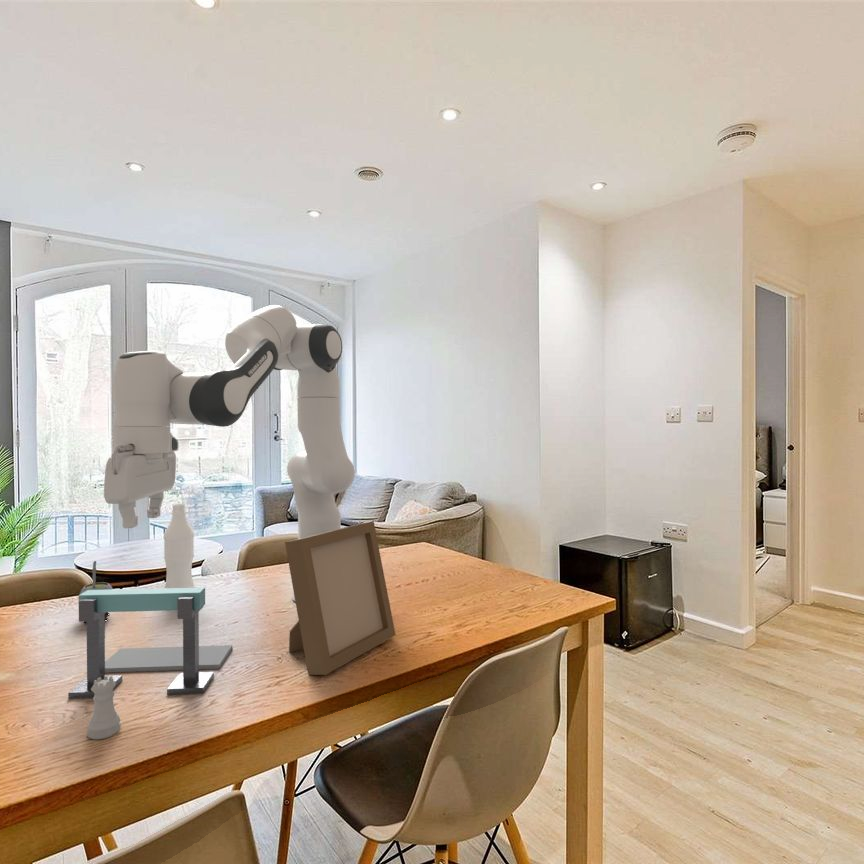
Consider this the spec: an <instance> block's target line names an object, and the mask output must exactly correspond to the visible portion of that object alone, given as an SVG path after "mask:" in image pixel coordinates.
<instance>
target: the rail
mask: <svg viewBox="0 0 864 864" xmlns="http://www.w3.org/2000/svg"><path fill="white" fill-rule="evenodd" d="M179 597H194V610H200V609H201V608H202V607H203V608H204V606H205V605H206V587H194V588H165V587H164V588H159V587H158V588H122V589H121V588H119V589H117V588H116V589H114V588H113V589H110V590H87V591H85V592H84V593H82V594H80V593H79V595H78V602H79V601H80V600H81V599H97V612H108V613H118V612H119V613H121V612H122V613H126V612H166V611H177V599H178V598H179ZM203 608H202V609H203ZM202 609H201V610H202ZM201 610H200V611H201Z"/></svg>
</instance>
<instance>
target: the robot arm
mask: <svg viewBox="0 0 864 864" xmlns="http://www.w3.org/2000/svg"><path fill="white" fill-rule="evenodd" d="M224 340H225V341H224V342H225V343H224V344H225V345H224V346H225V351H226V353H227V355H228V357H229V359H230V360H231V362H232V363H233V365H232V366H231V367H230V368H229V369H226V370H215V371H209V372H208V371H207V372H205V371H204V372H186V371H184V370H182V369H181V368H179V367H177V366H176V365H174V364H173V363H172V362H171V361H170V360H169V359H168V357H167V354H166V352H164V351H161V350H146V351H145V350H142V351H140V350H139V351H129V352H124V353H122V354H121V355H119V356H118V358H117V359H116V362H115V366H114V371H113V380H112V381H113V384H112V403H113V406H114V408H115V417H114V419H113V424H112V426H113V427H112V447H113V451H112V452H113V453H111V456H110V457H109V458H107V461H106V464H105V470H104V471H105V472H104V480H103V481H104V482H103V483H104V484H103V498H104V501H105V502H106V503H107V504H108V505H109V504H110V505H111V504H112V505H114V504H115V505H118V510H119V513H120V516H121V518H122V527H123V529H133V528H136V527H138V525H139V522H138V521H139V517H138V515H136V512H135V508H136V504H137V502H136V501H139V500H142V499H145V498H148V499H149V504H148V508H147V509H146V512H147V513H146V515H147V518H149V519H157V518H159V517H160V516H161V511H162V510H161V509H162V504H163V501H164V496H165V495H164V492H168V491H171V490H172V489H173V488H174V484H175V483H176V482H175V481H176V475H177V474H176V473H177V472H176V471H177V457H176V456H177V455H176V452H177V451H178V450H179V446H180V445H179V439H177V438H176V437H175V436H174V435H173V434H172V432H171V425H172V424H175V425H202V426H204V425H206V426H214V427H219V428H220V427H221V428H223V427H229V426H232V425H233V424H235V423H236V422H237V421H238V420H240V418H241V416H242V415H243V413H244V411H245V409H246V408H247V405H248V403H249V402H250V400H251V398H252V396H253V395H254V394H255V393H256V391H257V390H258V389H259V388H260V386H261V385H262V384H263V383H264V382H265V380H266V379H267V378H268V376H269V375H270V374H271V373H272V372H273V371H274V370H275V371H282V370H286V371H297V372H298V379H297V390H296V391H297V395H296V396H297V398H296V399H297V400H296V401H297V403H296V404H297V408H296V409H297V429H298V431H299V433H300V435H301V437H302V440H303V445H304V450H301V451H299V452H296V453H295V454H293V455H292V456H291V457H290V459H289V461H288V462H287V465H286V469H287V470H286V471H287V476H288V478H289V479H290V482H291V485H292V491H293V496H294V500H295V501H294V502H295V506H296V510H297V512H296V513H297V536H298V537H297V539H300V538H304V537H308V536H312V535H316V534H320V533H324V532H328V531H332V530H336V529H340V528H342V525H341V518H342V517H341V513H340V510H339V508H338V505H337V503H336V501H335V494H339V493H343V492H344V491H346V490H348V489H349V488H350V487H351V486H352V485H353V482H354V480H355V474H356V471H355V466H354V465H353V462H352V461H351V459H350V457H349V456H348V453H347V449H346V446H345V442H344V439H343V438H344V437H343V433H342V426H341V391H340V390H341V389H340V381H339V375H338V374H339V373H338V368H337V364H338V363H339V362H340V359H341V356H342V352H343V341H342V337H341V335H340V333H339V332H338V330H337V329H336V328H335V327H334V326H333V325H330V324H325V323H316V324H312V323H311V324H310V323H309V324H307V323H306V324H304V323H303V324H297V320H296V318H295V317H294V315H293V313H292V312H291V311H290V310H289V309H287V308H285V307H283V306H281V305H277V304H275V305H274V304H273V305H272V304H271V305H268V306H264V307H263V308H259V309H257V310H255V311H253V312H251V313H250V314H248V315H245V317H243V318H242V319H240V320H239V321H237V322H236V323H235V324H234V325H232V327H230V329H229V330H228V332H227V333H226V335H225V339H224ZM291 599H292V600H293V601H294V602H295V596H294V591H293V592H292V596H291Z"/></svg>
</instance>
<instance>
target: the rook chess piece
mask: <svg viewBox="0 0 864 864" xmlns="http://www.w3.org/2000/svg"><path fill="white" fill-rule="evenodd" d="M108 676H109V675H105V676H104V680H101V677H100V678H98V679H97V680H95V681H94V685H93V686H92V688H91V690H92V691H93V692H94V693H95V695H94V697H93V698H92V700H93V702H94V703H93V712H92V716H91V718H90V720H89V722H88V724H87V726H86V727H87V731H86V736H87V737H88V738H89V739H91V740H94V741H100V740H104V739H108V738H110V737H112V736H114V735H116V734H117V733H118V732H119V730H120V728H121V727H122V725H121V723H120V722H121V717H120V715H119V714H118V713H117V711H116V708H115V704H114V696H115V692H114V689H115V688H116V687H115V685H116V682H115V681H113V677H112V676H110V677H109V679H108ZM114 687H115V688H114ZM113 688H114V689H113Z"/></svg>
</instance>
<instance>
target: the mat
mask: <svg viewBox="0 0 864 864" xmlns="http://www.w3.org/2000/svg"><path fill="white" fill-rule="evenodd" d="M232 650H233V645H232V644H227V645H226V644H225V645H224V644H223V645H199V670H215V669H216V670H219V669H220V668H222V666H223V664H224V663H225V661H226V660H227V658H228V656H229V655H230V653H231V651H232ZM136 671H137V672H160V671H161V672H163V671H183V646H165V647H163V646H162V647H161V646H160V647H159V646H158V647H128V648H126V647H125V648H119V649H118V650H117V651H116V652H115V653H114V654H113V655H111V656H110V657H109V658H108V659H107V660H105V674H106V673H129V672H130V673H133V672H136Z"/></svg>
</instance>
